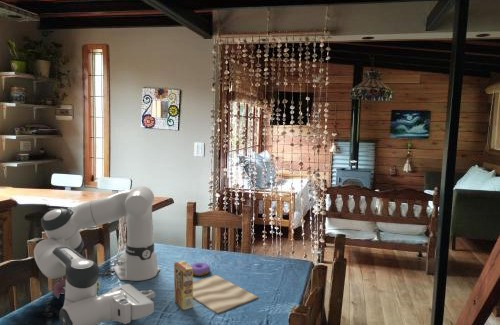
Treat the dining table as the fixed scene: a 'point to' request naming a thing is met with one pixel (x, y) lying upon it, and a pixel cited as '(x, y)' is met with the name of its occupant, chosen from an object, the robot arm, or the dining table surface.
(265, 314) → the dining table surface
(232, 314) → the dining table surface
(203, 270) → the donut
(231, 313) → the dining table surface
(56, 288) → the pink arch
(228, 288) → the wooden board
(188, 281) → the candy box
